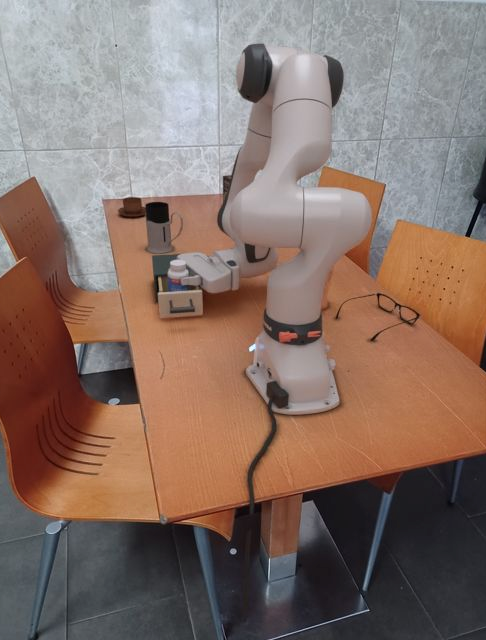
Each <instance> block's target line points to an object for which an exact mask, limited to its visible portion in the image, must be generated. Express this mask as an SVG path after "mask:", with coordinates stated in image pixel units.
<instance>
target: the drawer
mask: <svg viewBox="0 0 486 640" xmlns="http://www.w3.org/2000/svg"><path fill="white" fill-rule="evenodd" d="M158 285H159V293H158V302H157V303H158V313H159V319H165V318H167V319H169V318H180V317H181V318H182V317H194V316H195V317H197V316H203V314H204V304H203V303H204V301H203V300H204V299H203V290H202V289H200V290H199V286H198V285H189V291H175V292H168V276H158Z"/></svg>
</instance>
